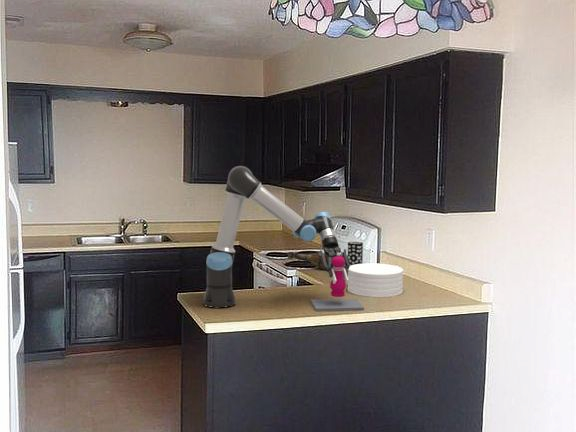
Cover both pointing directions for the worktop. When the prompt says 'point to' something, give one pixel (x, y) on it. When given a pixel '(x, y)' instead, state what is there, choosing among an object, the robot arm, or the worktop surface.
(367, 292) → the plate stack
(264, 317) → the worktop surface
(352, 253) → the white-spotted black cylinder
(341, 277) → the pepper mill
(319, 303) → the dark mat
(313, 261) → the decorative bottle
